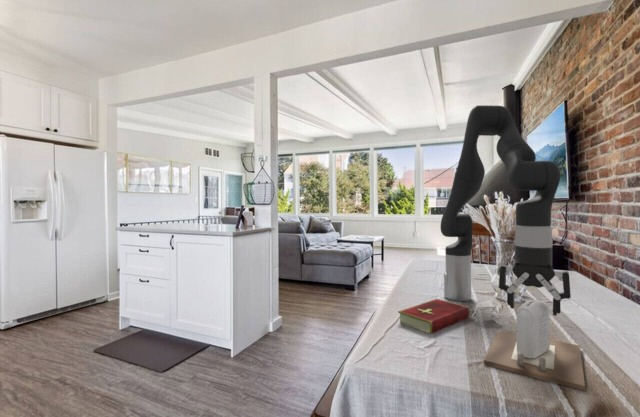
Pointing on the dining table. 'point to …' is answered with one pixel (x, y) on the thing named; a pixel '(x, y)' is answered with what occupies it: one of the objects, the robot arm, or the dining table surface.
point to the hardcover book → (434, 315)
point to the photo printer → (533, 328)
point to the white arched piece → (484, 306)
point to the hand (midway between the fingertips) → (533, 311)
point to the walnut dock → (538, 361)
